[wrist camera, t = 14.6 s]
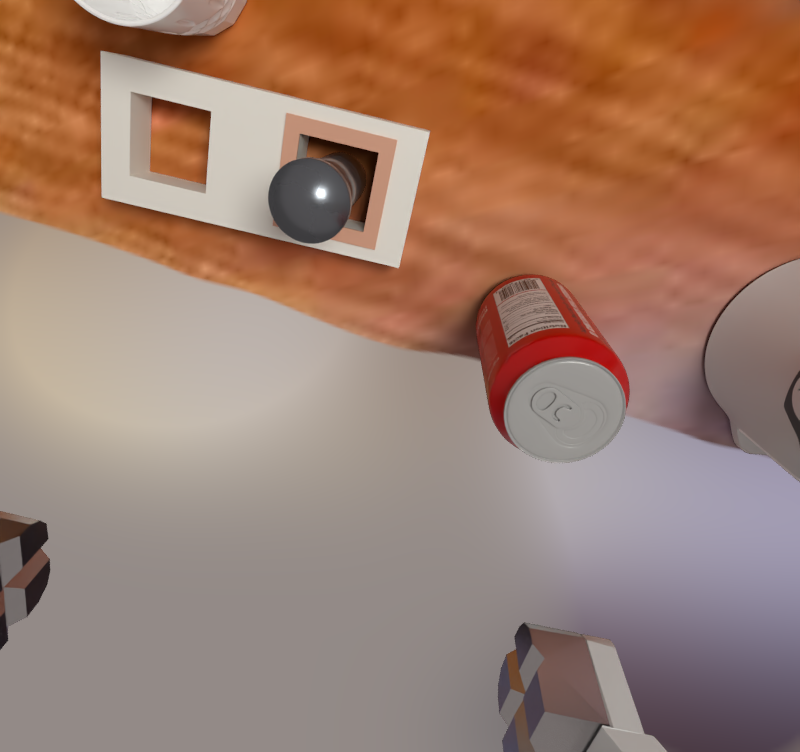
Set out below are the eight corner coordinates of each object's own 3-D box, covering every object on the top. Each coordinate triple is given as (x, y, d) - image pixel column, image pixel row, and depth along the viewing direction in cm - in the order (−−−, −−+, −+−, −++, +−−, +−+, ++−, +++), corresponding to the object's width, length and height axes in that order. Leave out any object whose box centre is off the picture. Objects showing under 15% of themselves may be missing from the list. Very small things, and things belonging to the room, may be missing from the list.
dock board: (430, 130, 39) (429, 132, 36) (401, 257, 42) (398, 268, 40) (124, 54, 38) (98, 50, 35) (123, 191, 42) (100, 197, 39)
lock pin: (377, 154, 39) (356, 169, 29) (365, 217, 41) (341, 251, 31) (315, 138, 39) (273, 149, 29) (306, 202, 41) (263, 233, 31)
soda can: (521, 249, 42) (562, 316, 28) (598, 311, 43) (672, 403, 30) (454, 328, 45) (461, 423, 31) (529, 383, 46) (566, 497, 33)
